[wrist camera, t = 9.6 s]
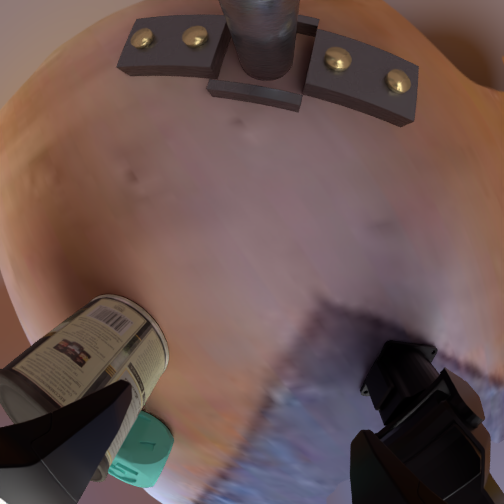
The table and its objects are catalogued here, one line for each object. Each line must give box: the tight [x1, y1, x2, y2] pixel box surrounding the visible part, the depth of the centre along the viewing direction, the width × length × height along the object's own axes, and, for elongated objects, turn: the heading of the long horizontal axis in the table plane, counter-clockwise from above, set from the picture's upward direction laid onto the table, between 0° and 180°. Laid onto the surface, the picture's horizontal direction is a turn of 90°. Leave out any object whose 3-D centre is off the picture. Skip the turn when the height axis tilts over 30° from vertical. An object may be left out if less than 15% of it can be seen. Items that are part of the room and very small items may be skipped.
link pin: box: [219, 0, 300, 81], centre depth 9 cm, size 5×5×15 cm
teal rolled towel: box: [108, 410, 174, 488], centre depth 23 cm, size 8×8×8 cm
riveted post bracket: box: [117, 15, 419, 127], centre depth 15 cm, size 22×8×3 cm, turn 77°
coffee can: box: [0, 294, 169, 482], centre depth 17 cm, size 10×10×14 cm
